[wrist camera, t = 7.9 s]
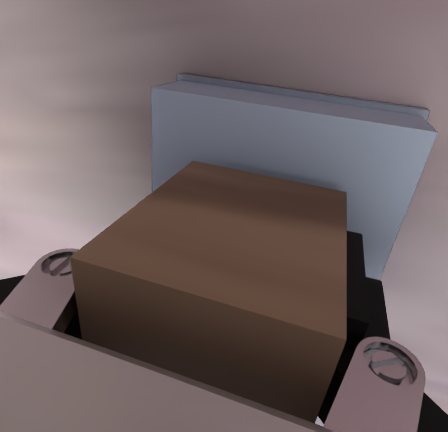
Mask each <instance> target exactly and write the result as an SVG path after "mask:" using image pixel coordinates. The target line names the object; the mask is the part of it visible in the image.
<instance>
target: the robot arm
mask: <svg viewBox="0 0 448 432" xmlns="http://www.w3.org/2000/svg"><path fill="white" fill-rule="evenodd" d="M78 250H79V249H61V250H56V251H53V252H50V253H48V254H46V255H44V256H42V257H41V258H40V259H39V260H38V261H37V262H36V263H35V264H34V266H33V267H32V268H31V269H30V270H29V272H28V273H27V274H26V275H22V276H17V277H12V278H7V279H2V280H0V432H448V415H447V414H446V413H445V412H444V411H443V410H442V409H441V408H440V407H439V406H438V405H437V404H436V403H435V402H434V401H432V400H431V399H430V398H429V397H428V396H427V395H426V394H425V393H424V386H425V371H424V369H423V367H422V365H421V363H420V362H419V360H418V359H417V358H416V357H415V355H414V354H412V353H411V352H410V351H409V350H408V349H407V348H405V347H404V346H402V345H400V344H399V343H397V342H395V341H392V340H390V334H389V327H388V320H387V313H386V306H385V299H384V293H383V286H382V282H381V281H380V280H377V279H373V278H369V277H366V273H365V261H364V249H363V236H362V234H360V233H356V232H351V231H347V340H346V343H345V345H344V348H343V351H342V353H341V356H340V358H339V361H338V364H337V366H336V369H335V371H334V374H333V377H332V379H331V382H330V385H329V387H328V390H327V392H326V395H325V398H324V400H323V403H322V405H321V408H320V411H319V413H318V417H319V418H320V419H321V421H322V422H323V424H324V426H323V427H322V426H320V425H317V424H314V423H312V422H309V421H306V420H304V419H301V418H298V417H295V416H293V415H290V414H287V413H284V412H282V411H279V410H276V409H273V408H271V407H268V406H265V405H262V404H260V403H257V402H254V401H251V400H249V399H246V398H243V397H240V396H238V395H235V394H232V393H229V392H227V391H224V390H221V389H218V388H216V387H213V386H210V385H207V384H205V383H202V382H199V381H196V380H193V379H191V378H188V377H185V376H182V375H179V374H177V373H174V372H171V371H168V370H166V369H163V368H160V367H157V366H154V365H152V364H149V363H146V362H143V361H140V360H138V359H135V358H132V357H129V356H126V355H124V354H121V353H118V352H115V351H112V350H110V349H107V348H104V347H101V346H98V345H95V344H93V343H90V342H87V341H84V340H82V335H81V328H80V322H79V315H78V309H77V302H76V296H75V289H74V283H73V276H72V269H71V263H70V257H71V256H72V255H73V254H74V253H76V252H77V251H78Z"/></svg>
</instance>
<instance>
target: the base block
mask: <svg viewBox="0 0 448 432" xmlns="http://www.w3.org/2000/svg"><path fill="white" fill-rule="evenodd" d="M429 112H430V110H428V109H427V108H420V107H413V106H406V105H399V104H392V103H385V102H378V101H371V100H364V99H357V98H350V97H343V96H336V95H329V94H322V93H315V92H308V91H301V90H294V89H288V88H281V87H274V86H267V85H260V84H253V83H246V82H239V81H232V80H225V79H218V78H211V77H204V76H197V75H190V74H183V73H181V74H177V81H176V82H172V83H168V84H164V85H160V86H155V87H151V117H152V192H153V191H155V190H156V189H157V188H159V187H160V186H161V185H162V184H164V183H165V182H166V181H168V180H169V179H170V178H171V177H173V176H174V175H175V174H176V173H178V172H179V171H180V170H182V169H183V168H184V167H185V166H187V165H188V164H189V163H190V162H192V161H197V162H202V163H207V164H212V165H217V166H221V167H226V168H231V169H236V170H241V171H246V172H251V173H256V174H261V175H265V176H270V177H275V178H280V179H285V180H290V181H295V182H300V183H305V184H309V185H314V186H319V187H324V188H329V189H334V190H339V191H344V192H347V231H351V232H356V233H360V234H362V236H363V249H364V261H365V273H366V277H369V278H373V279H377V280H379V279H380V277H381V274H382V272H383V269H384V267H385V264H386V262H387V259H388V257H389V254H390V252H391V249H392V247H393V244H394V242H395V239H396V237H397V234H398V232H399V229H400V227H401V224H402V222H403V219H404V217H405V214H406V212H407V209H408V207H409V204H410V202H411V199H412V197H413V194H414V191H415V189H416V186H417V184H418V181H419V179H420V176H421V174H422V171H423V169H424V166H425V164H426V161H427V159H428V156H429V154H430V151H431V149H432V146H433V144H434V141H435V139H436V136H437V134H438V132H437V131H436V130H435V129H434V128H433V127H432V126H431V125H430V124H429V123H428V122H427V121H426V120H427V118H428V115H429Z"/></svg>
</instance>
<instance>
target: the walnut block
mask: <svg viewBox="0 0 448 432" xmlns="http://www.w3.org/2000/svg"><path fill="white" fill-rule="evenodd" d="M70 263H71V269H72V276H73V283H74V289H75V296H76V302H77V309H78V315H79V322H80V328H81V335H82V340H84V341H87V342H90V343H93V344H95V345H98V346H101V347H104V348H107V349H110V350H112V351H115V352H118V353H121V354H124V355H126V356H129V357H132V358H135V359H138V360H140V361H143V362H146V363H149V364H152V365H154V366H157V367H160V368H163V369H166V370H168V371H171V372H174V373H177V374H179V375H182V376H185V377H188V378H191V379H193V380H196V381H199V382H202V383H205V384H207V385H210V386H213V387H216V388H218V389H221V390H224V391H227V392H229V393H232V394H235V395H238V396H240V397H243V398H246V399H249V400H251V401H254V402H257V403H260V404H262V405H265V406H268V407H271V408H273V409H276V410H279V411H282V412H284V413H287V414H290V415H293V416H295V417H298V418H301V419H304V420H306V421H309V422H312V423H314V424H315V421H316V419H317V416H318V413H319V411H320V408H321V405H322V403H323V400H324V398H325V395H326V392H327V390H328V387H329V385H330V382H331V379H332V377H333V374H334V371H335V369H336V366H337V364H338V361H339V358H340V356H341V353H342V351H343V348H344V345H345V343H346V340H347V192H344V191H339V190H334V189H329V188H324V187H319V186H314V185H309V184H305V183H300V182H295V181H290V180H285V179H280V178H275V177H270V176H265V175H261V174H256V173H251V172H246V171H241V170H236V169H231V168H226V167H221V166H217V165H212V164H207V163H202V162H197V161H192V162H190V163H189V164H188V165H187V166H185V167H184V168H183V169H182V170H180V171H179V172H178V173H176V174H175V175H174V176H173V177H171V178H170V179H169V180H168V181H166V182H165V183H164V184H162V185H161V186H160V187H159V188H157V189H156V190H155V191H153V192H152V193H151V194H150V195H148V196H147V197H146V198H145V199H143V200H142V201H141V202H139V203H138V204H137V205H136V206H134V207H133V208H132V209H131V210H129V211H128V212H127V213H125V214H124V215H123V216H122V217H120V218H119V219H118V220H117V221H115V222H114V223H113V224H111V225H110V226H109V227H108V228H106V229H105V230H104V231H103V232H101V233H100V234H99V235H97V236H96V237H95V238H94V239H92V240H91V241H90V242H89V243H87V244H86V245H85V246H83V247H82V248H81V249H80V250H78V251H77V252H76V253H74V254H73V255H72V256H71V257H70Z"/></svg>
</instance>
